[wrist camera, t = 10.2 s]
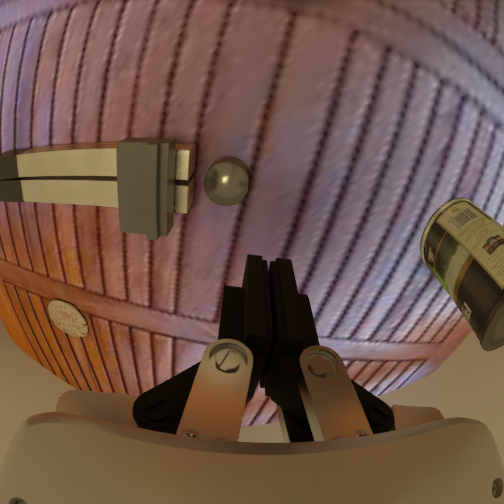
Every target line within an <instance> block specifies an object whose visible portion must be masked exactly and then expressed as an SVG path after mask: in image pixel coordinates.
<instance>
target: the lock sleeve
mask: <svg viewBox="0 0 504 504" xmlns="http://www.w3.org/2000/svg"><path fill="white" fill-rule="evenodd" d="M175 152H176V139H169V138H126V139H123V140H121V141H118V142H116V161H117V191H118V207H119V219H120V230H121V232H128V233H137V234H146V235H147V239H149V240H158V238H159V236H164V237H167V236H168V234H169V232H170V230H171V228H172V227H173V202H174V171H175Z"/></svg>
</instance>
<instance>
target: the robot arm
mask: <svg viewBox="0 0 504 504" xmlns="http://www.w3.org/2000/svg"><path fill="white" fill-rule="evenodd" d="M259 378H260V387H261V388H265V396H271V400H272V401H274V402H275V403H276V404H277V413H278V417H279V422H280V426H281V430H282V434H283V438H284V443H251V442H250V443H249V442H238V438H239V433H240V428H241V423H242V418H243V413H244V408H245V403H247V402H248V401H249V400H251V399H252V398H253V395H254V392H255V389H256V387H257V384H258V381H259ZM0 504H504V467H503V464H502V460H501V456H500V453H499V450H498V447H497V445H496V442H495V440H494V437H493V435H492V434H491V431H490V430H489V428H488V427H487V426H486V425H485V424H484V423H482V422H480V421H478V420H474V419H469V418H461V417H457V418H447V419H444V418H443V415H442V414H441V412H440V411H439V410H437V409H436V408H433V407H418V406H417V407H416V406H402V405H393V406H392V407H389V406H388V405H387V404H386V403H384V402H383V401H382V400H380V399H379V398H377V397H376V396H374V395H373V394H372V393H370V392H369V391H367V390H366V389H364V388H363V387H361V386H360V385H358V384H357V383H356V382H354V381H353V380H351V379H350V377H349V375H348V372H347V370H346V368H345V365H344V363H343V361H342V359H341V358H340V356H339V355H338V354H337V353H336V352H335V351H334V350H332V349H330V348H328V347H325V346H320V345H319V341H318V336H317V332H316V327H315V323H314V318H313V314H312V310H311V306H310V301H309V298H308V295H307V294H298V290H297V285H296V280H295V275H294V271H293V266H292V261H291V260H290V259H282V258H276V261H271V262H270V266H269V270H268V265H267V260H262V256H258V255H250V254H248V255H247V261H246V267H245V273H244V279H243V285H242V287H233V286H225V285H224V293H223V301H222V309H221V318H220V326H219V335H218V340H217V341H214V342H212V343H211V344H210V345H208V346H207V348H206V350H205V351H204V354H203V357H202V360H201V361H200V362H199V363H197V364H195V365H193V366H192V367H190V368H188V369H186V370H185V371H183V372H181V373H179V374H178V375H176V376H174V377H172V378H170V379H169V380H167V381H165V382H163V383H161V384H159V385H158V386H156V387H154V388H152V389H150V390H148V391H146V392H144V393H143V394H141V395H140V396H129V395H128V394H126V393H105V392H91V391H80V390H69V391H67V392H65V393H63V394H62V395H61V396H60V397H59V399H58V402H57V406H56V412H48V413H41V414H35V415H32V416H30V417H28V418H27V419H25V420H24V421H23V422H22V423H21V424H20V426H19V427H18V428H17V430H16V432H15V434H14V436H13V438H12V440H11V442H10V444H9V446H8V449H7V452H6V454H5V457H4V460H3V464H2V467H1V471H0Z"/></svg>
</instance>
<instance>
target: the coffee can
mask: <svg viewBox="0 0 504 504" xmlns="http://www.w3.org/2000/svg"><path fill="white" fill-rule="evenodd" d="M421 256H422V259H423V262H424V263H425V265H426V266H427V267H428V268H429V269H430V270H431V271H432V273H433V274H434V275H435V277H436V278H437V279H438V280H439V282H440V283H441V284H442V286H443V287H444V288H445V290H446V291H447V292H448V294H449V295H450V296H451V298H452V299H453V301H454V302H455V304H456V305H457V307H458V308H459V309H460V311H461V312H462V314H463V315H464V317H465V318H466V320H467V321H468V323H469V324H470V326H471V327H472V329H473V331H474V332H475V334H476V335H477V337H478V339H479V340H480V344H481V346H482V348H483V349H484V350H485V351H492V350H495V349H497V348H499V347H501V346H503V345H504V227H503V226H502V225H500V224H499V223H498V222H497V221H495V220H494V219H493V218H492V217H490V216H489V215H488V214H486V213H485V212H484V211H482V210H481V209H480V208H478V207H477V206H476V205H474V204H473V203H472V202H471V201H470V200H468V199H464V198H457V199H454V200H451V201H449V202H447V203H446V204H444V205H443V206H442V207H440V208H439V209H438V210H437V211H436V213H435V214H434V215H433V216H432V218H431V219H430V221H429V223H428V224H427V226H426V228H425V231H424V234H423V237H422V242H421Z"/></svg>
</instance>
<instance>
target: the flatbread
mask: <svg viewBox="0 0 504 504" xmlns="http://www.w3.org/2000/svg"><path fill="white" fill-rule="evenodd" d="M48 310H49V314H50V317H51V319H52V320H53V322H54V323H55V325H56V326H57V327H58V328H59V329H61V330H62V331H64V332H66V333H68V334H70V335H71V336H74V337H85V336H86V335H87V333H88V326H87V323H86V321H85V319H84V317H83V316H82V315H81V313H80V312H79V311H78V310H77V309H76V308H75V307H74V306H73V305H72V304H69V303H66V302H64V301H61V300H52V301H51V302H50V303H49V305H48Z"/></svg>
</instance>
